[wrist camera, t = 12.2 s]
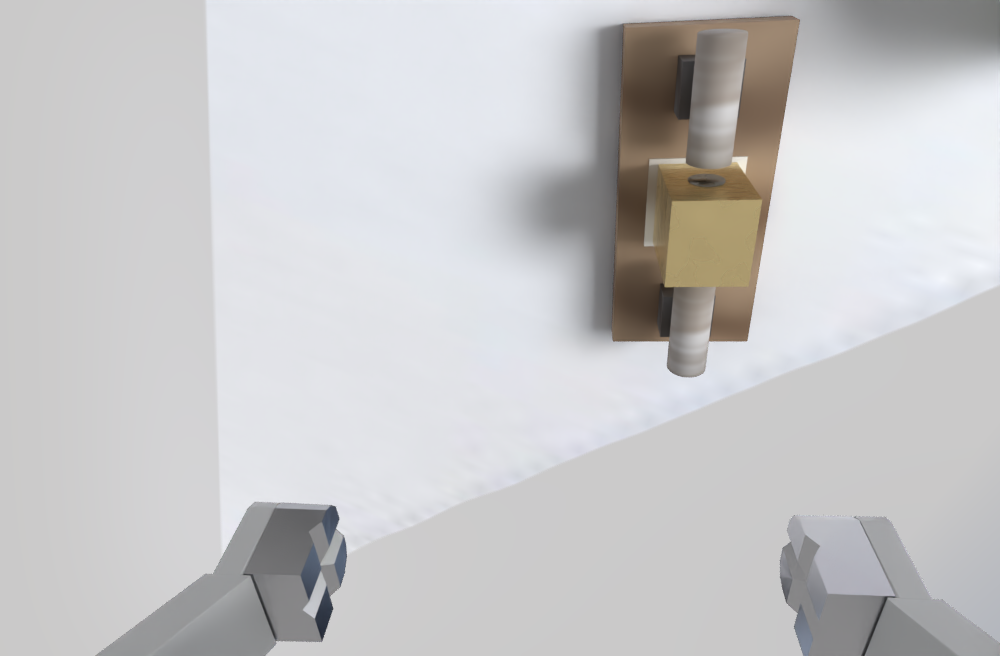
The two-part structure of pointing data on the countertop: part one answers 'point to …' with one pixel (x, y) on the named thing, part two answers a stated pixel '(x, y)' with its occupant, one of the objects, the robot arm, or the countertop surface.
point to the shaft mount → (693, 163)
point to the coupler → (705, 226)
